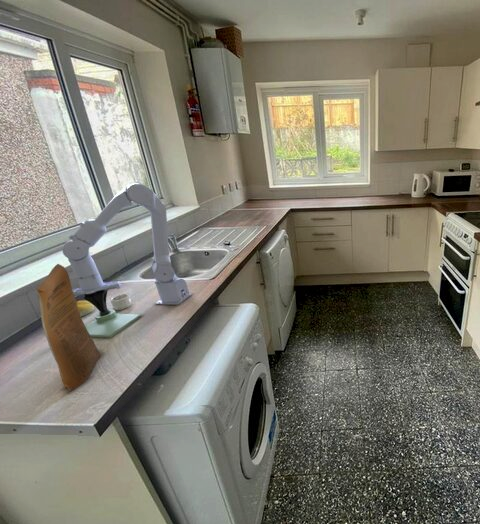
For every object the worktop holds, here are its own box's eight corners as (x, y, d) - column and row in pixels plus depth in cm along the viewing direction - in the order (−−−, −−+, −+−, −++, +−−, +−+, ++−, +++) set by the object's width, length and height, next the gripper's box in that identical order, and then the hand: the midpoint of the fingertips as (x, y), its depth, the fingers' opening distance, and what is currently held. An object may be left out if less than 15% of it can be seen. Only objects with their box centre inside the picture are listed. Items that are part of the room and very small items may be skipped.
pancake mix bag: (112, 344, 87) (73, 259, 76) (90, 389, 71) (37, 288, 60) (84, 351, 84) (40, 264, 73) (55, 399, 68) (-7, 296, 57)
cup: (135, 302, 111) (132, 293, 109) (123, 310, 105) (119, 301, 104) (123, 302, 111) (119, 293, 110) (110, 310, 106) (105, 301, 105)
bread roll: (65, 322, 100) (60, 312, 98) (67, 312, 106) (62, 303, 105) (95, 313, 105) (91, 303, 103) (95, 304, 111) (91, 295, 110)
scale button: (111, 312, 100) (110, 308, 100) (105, 316, 98) (103, 312, 97) (105, 312, 101) (103, 308, 100) (98, 316, 98) (96, 312, 98)
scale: (141, 316, 101) (139, 310, 100) (110, 337, 90) (107, 331, 89) (107, 314, 103) (104, 309, 102) (72, 336, 92) (69, 329, 91)
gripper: (53, 284, 88) (72, 322, 93) (110, 274, 93) (125, 310, 98) (64, 276, 94) (81, 311, 99) (117, 267, 99) (130, 301, 104)
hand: (103, 310), depth 99 cm, fingers closed
